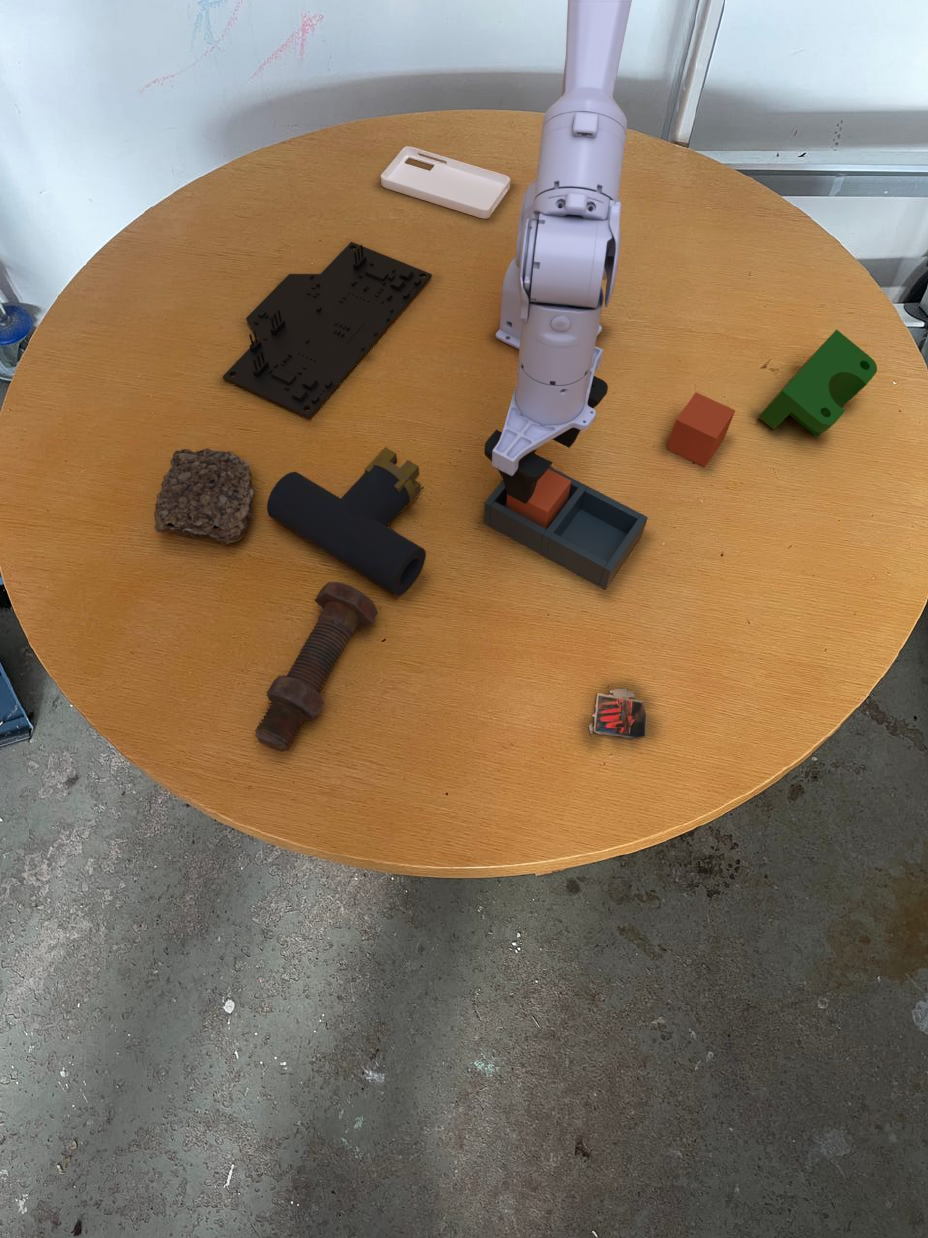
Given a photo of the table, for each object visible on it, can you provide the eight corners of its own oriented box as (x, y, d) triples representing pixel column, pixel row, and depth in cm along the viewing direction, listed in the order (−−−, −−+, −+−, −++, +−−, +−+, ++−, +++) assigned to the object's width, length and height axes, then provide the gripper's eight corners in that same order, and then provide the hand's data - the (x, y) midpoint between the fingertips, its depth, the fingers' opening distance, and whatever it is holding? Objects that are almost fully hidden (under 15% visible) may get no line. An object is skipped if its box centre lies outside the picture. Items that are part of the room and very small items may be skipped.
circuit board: (310, 421, 91) (305, 401, 88) (201, 370, 94) (194, 349, 92) (431, 279, 101) (431, 257, 99) (330, 238, 105) (327, 216, 102)
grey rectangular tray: (483, 523, 85) (484, 502, 82) (522, 474, 88) (524, 452, 85) (605, 590, 81) (610, 571, 78) (641, 537, 84) (648, 516, 81)
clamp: (789, 463, 94) (817, 443, 85) (747, 427, 95) (770, 404, 86) (864, 380, 94) (899, 351, 85) (821, 344, 94) (852, 312, 85)
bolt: (271, 755, 75) (349, 614, 81) (310, 766, 72) (388, 618, 78) (227, 723, 71) (313, 576, 77) (267, 733, 68) (353, 580, 74)
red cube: (666, 448, 90) (676, 419, 86) (685, 421, 91) (695, 391, 87) (704, 467, 88) (716, 438, 85) (723, 439, 90) (735, 410, 86)
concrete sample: (245, 564, 83) (233, 534, 78) (144, 547, 83) (126, 517, 79) (279, 470, 88) (269, 437, 83) (184, 455, 89) (169, 422, 84)
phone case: (379, 186, 110) (487, 220, 107) (378, 176, 108) (487, 210, 105) (406, 154, 113) (511, 186, 110) (405, 144, 112) (512, 176, 109)
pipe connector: (340, 417, 84) (465, 489, 80) (346, 451, 89) (466, 521, 85) (261, 496, 80) (390, 576, 76) (273, 528, 85) (395, 605, 81)
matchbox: (650, 737, 74) (651, 735, 74) (591, 743, 74) (592, 741, 74) (639, 687, 77) (640, 685, 76) (582, 693, 76) (583, 691, 76)
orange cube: (505, 518, 85) (507, 490, 81) (528, 488, 87) (531, 459, 83) (543, 539, 84) (547, 512, 80) (566, 508, 85) (571, 480, 81)
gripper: (551, 441, 63) (536, 543, 75) (644, 323, 69) (617, 436, 81) (471, 400, 65) (469, 506, 77) (568, 289, 71) (552, 403, 83)
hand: (540, 468), depth 79 cm, fingers open, 7 cm apart
